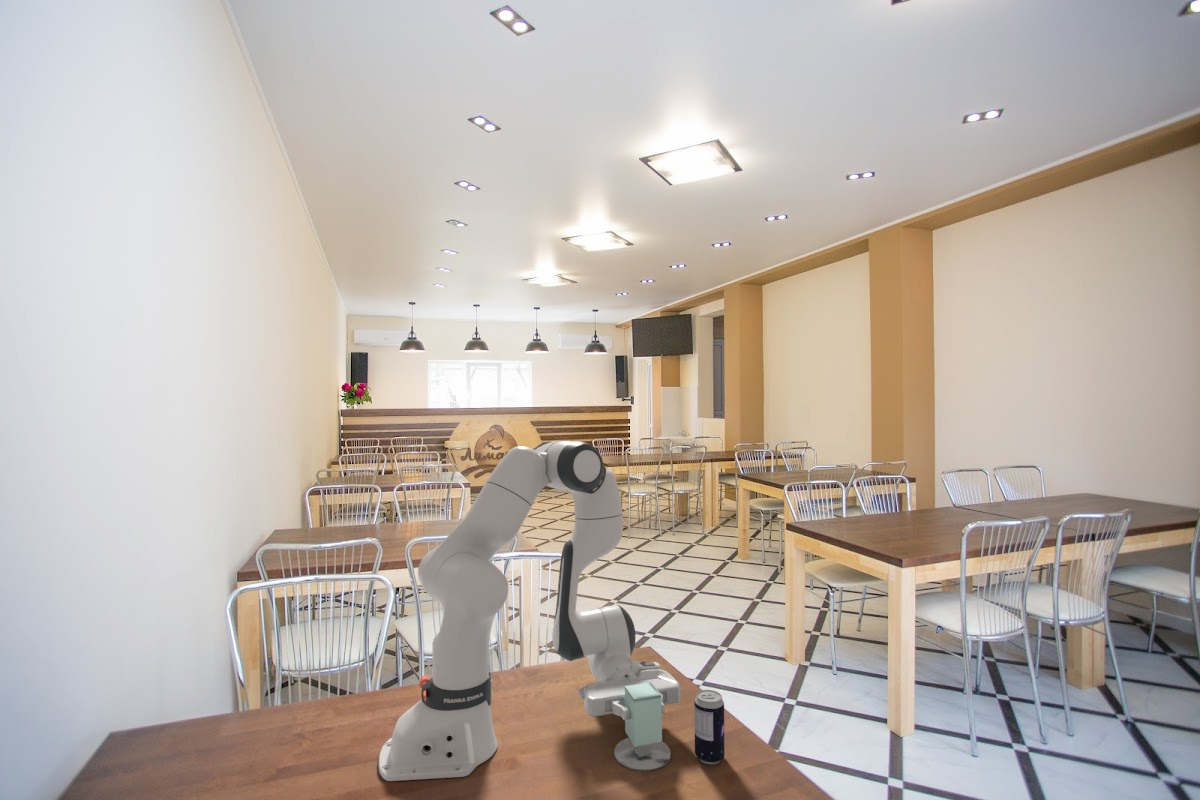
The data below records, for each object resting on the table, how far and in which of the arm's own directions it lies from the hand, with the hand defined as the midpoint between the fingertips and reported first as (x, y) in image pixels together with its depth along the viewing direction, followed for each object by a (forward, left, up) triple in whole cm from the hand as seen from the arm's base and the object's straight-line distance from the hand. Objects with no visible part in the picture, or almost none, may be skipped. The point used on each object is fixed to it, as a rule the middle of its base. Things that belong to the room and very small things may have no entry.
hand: (644, 713), depth 116 cm
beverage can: (+12, -4, -9) cm, 15 cm away
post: (0, +1, -8) cm, 8 cm away
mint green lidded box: (0, +1, -5) cm, 5 cm away
